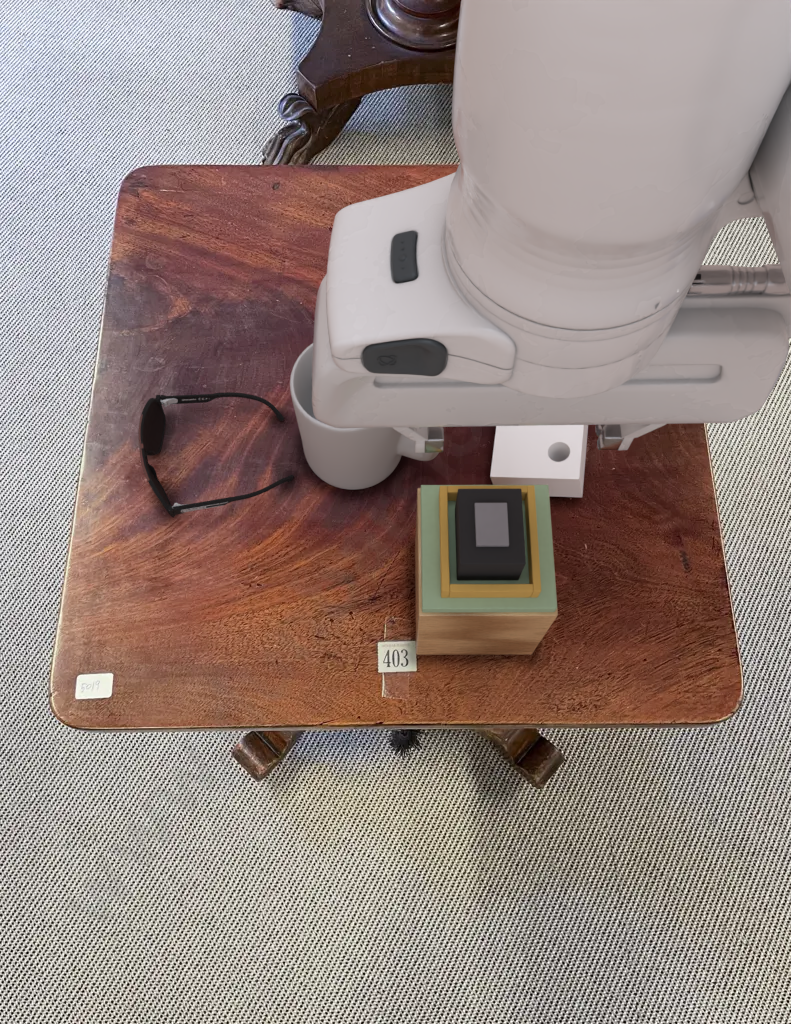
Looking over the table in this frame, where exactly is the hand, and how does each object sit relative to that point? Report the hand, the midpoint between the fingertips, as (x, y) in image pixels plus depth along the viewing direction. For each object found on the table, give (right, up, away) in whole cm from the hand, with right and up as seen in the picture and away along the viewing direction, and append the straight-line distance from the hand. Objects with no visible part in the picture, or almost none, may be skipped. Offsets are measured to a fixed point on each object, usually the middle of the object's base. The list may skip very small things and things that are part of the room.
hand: (519, 439), depth 45 cm
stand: (0, -11, +24) cm, 26 cm away
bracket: (+6, +4, +29) cm, 30 cm away
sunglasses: (-21, 0, +28) cm, 35 cm away
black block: (-1, -6, +12) cm, 13 cm away
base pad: (0, -6, +12) cm, 14 cm away
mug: (-8, +1, +29) cm, 30 cm away
